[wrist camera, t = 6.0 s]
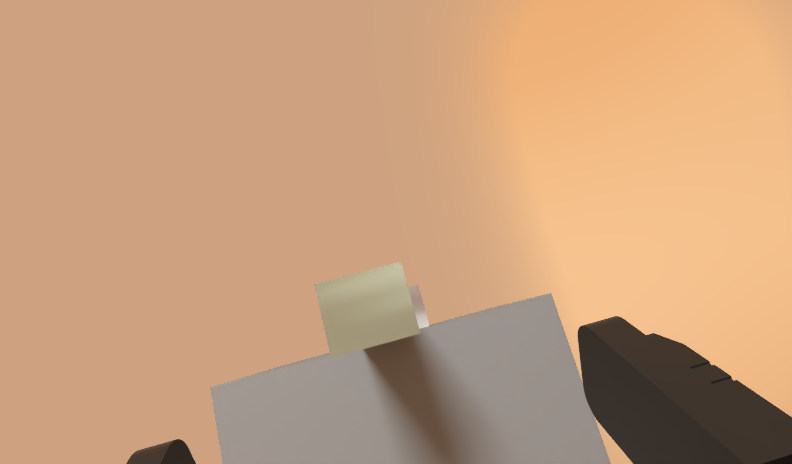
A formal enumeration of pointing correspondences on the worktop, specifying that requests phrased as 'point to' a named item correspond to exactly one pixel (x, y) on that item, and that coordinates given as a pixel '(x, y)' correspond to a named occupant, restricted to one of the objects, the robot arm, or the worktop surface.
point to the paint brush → (370, 309)
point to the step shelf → (422, 399)
